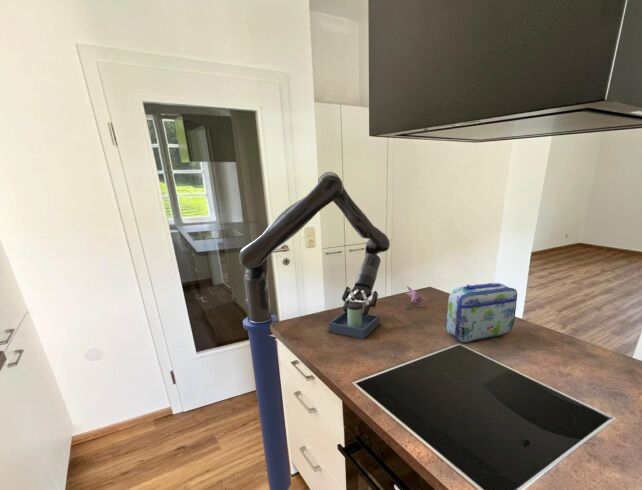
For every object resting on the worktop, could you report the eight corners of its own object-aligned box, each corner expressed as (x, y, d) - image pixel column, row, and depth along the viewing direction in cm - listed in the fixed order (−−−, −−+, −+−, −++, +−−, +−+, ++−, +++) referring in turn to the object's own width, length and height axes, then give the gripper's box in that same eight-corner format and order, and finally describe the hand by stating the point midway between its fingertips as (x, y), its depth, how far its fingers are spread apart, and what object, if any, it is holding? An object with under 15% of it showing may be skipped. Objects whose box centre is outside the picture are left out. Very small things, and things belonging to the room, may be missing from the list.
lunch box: (455, 346, 133) (462, 292, 124) (441, 334, 142) (446, 283, 134) (514, 337, 140) (524, 286, 132) (497, 326, 149) (505, 278, 141)
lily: (426, 314, 163) (433, 294, 163) (403, 305, 160) (410, 285, 160) (416, 312, 175) (423, 294, 175) (395, 304, 172) (401, 285, 172)
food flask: (344, 327, 144) (344, 305, 141) (351, 322, 150) (351, 300, 146) (358, 330, 142) (358, 307, 139) (364, 324, 147) (364, 303, 144)
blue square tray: (329, 331, 143) (328, 322, 141) (346, 318, 155) (346, 310, 154) (363, 338, 137) (364, 329, 136) (379, 324, 150) (379, 315, 148)
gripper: (348, 271, 148) (335, 306, 143) (380, 275, 143) (368, 311, 137) (354, 280, 154) (342, 313, 149) (384, 284, 149) (373, 319, 144)
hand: (354, 312), depth 143 cm, fingers open, 8 cm apart
